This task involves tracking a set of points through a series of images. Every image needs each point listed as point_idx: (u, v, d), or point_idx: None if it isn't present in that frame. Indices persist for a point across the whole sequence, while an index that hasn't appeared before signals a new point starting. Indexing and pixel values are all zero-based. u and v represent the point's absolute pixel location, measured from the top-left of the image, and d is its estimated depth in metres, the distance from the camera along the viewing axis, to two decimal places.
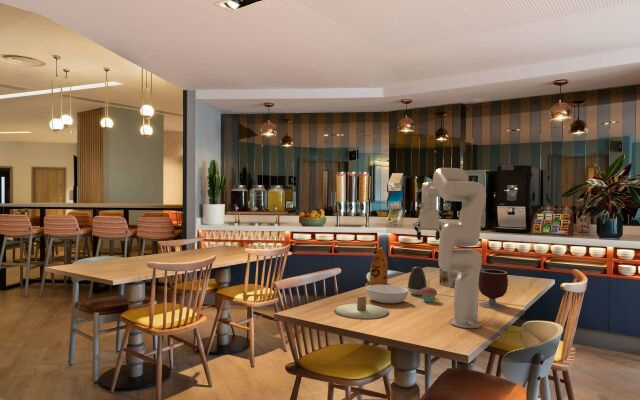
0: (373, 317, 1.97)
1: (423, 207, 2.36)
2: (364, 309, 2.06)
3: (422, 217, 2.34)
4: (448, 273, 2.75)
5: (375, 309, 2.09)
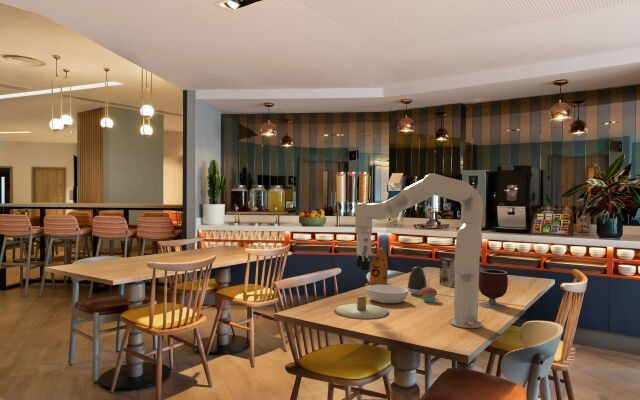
0: (373, 317, 1.97)
1: (368, 231, 2.04)
2: (364, 309, 2.06)
3: None
4: (448, 273, 2.75)
5: (375, 309, 2.09)
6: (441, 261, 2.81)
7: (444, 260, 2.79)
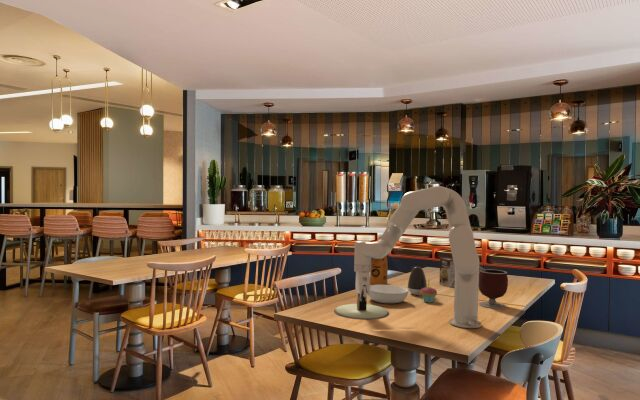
0: (373, 317, 1.97)
1: (367, 270, 2.04)
2: None
3: None
4: (448, 273, 2.75)
5: (375, 309, 2.09)
6: (441, 261, 2.81)
7: (444, 260, 2.79)
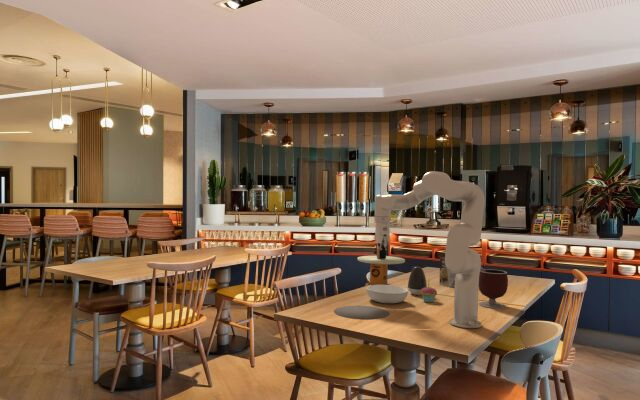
0: (393, 263, 2.14)
1: (386, 221, 2.22)
2: None
3: (389, 232, 2.21)
4: (448, 273, 2.75)
5: (393, 258, 2.26)
6: (441, 261, 2.81)
7: (444, 260, 2.79)
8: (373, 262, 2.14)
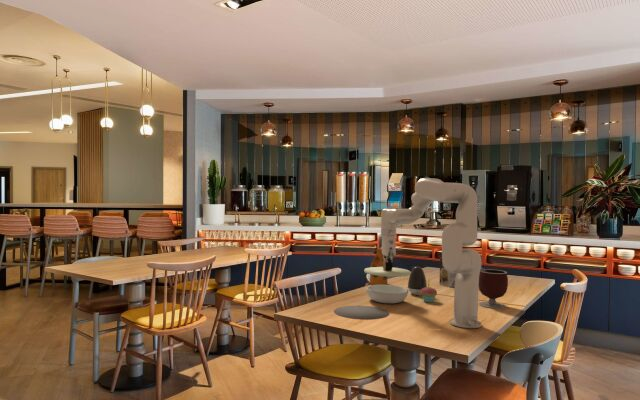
0: (399, 275, 2.21)
1: (393, 234, 2.28)
2: None
3: (395, 245, 2.28)
4: (448, 273, 2.75)
5: (399, 270, 2.33)
6: (441, 261, 2.81)
7: None
8: (379, 274, 2.22)
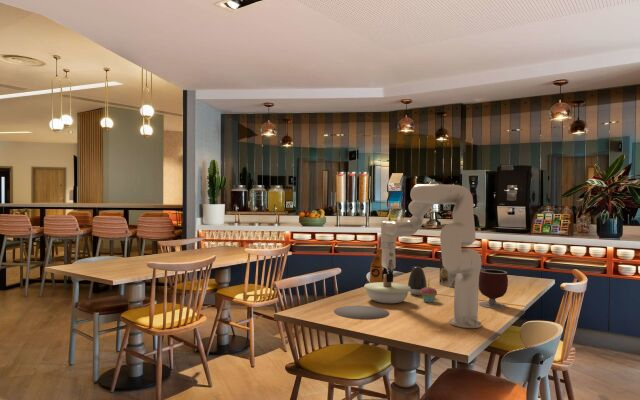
0: (399, 292, 2.21)
1: (392, 247, 2.28)
2: (390, 286, 2.30)
3: None
4: (448, 273, 2.75)
5: (399, 286, 2.33)
6: (441, 261, 2.81)
7: None
8: (379, 291, 2.21)
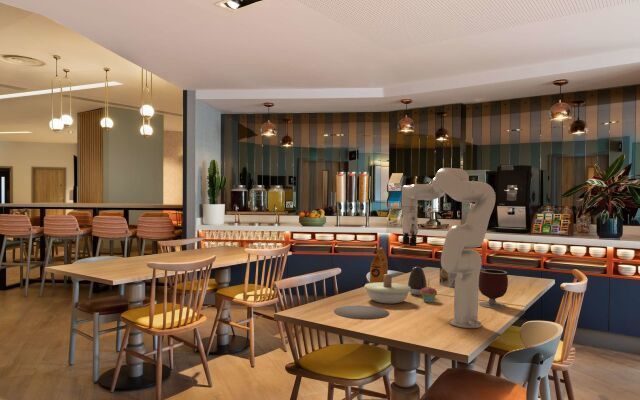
0: (399, 292, 2.21)
1: (414, 211, 2.24)
2: (390, 286, 2.30)
3: (417, 222, 2.24)
4: (448, 273, 2.75)
5: (399, 286, 2.33)
6: None
7: None
8: (379, 291, 2.22)
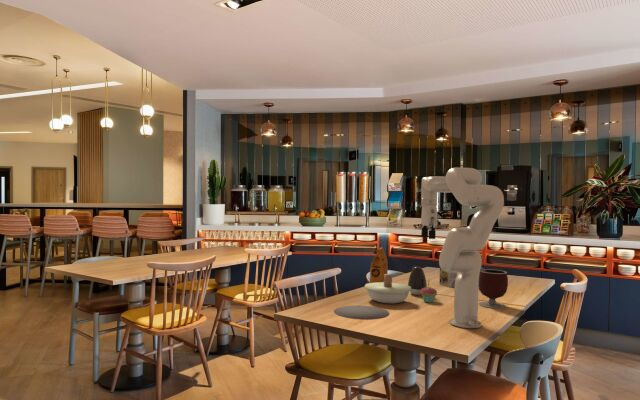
0: (399, 292, 2.21)
1: (434, 203, 2.21)
2: (390, 286, 2.30)
3: None
4: (448, 273, 2.75)
5: (400, 286, 2.33)
6: None
7: None
8: (380, 291, 2.22)
